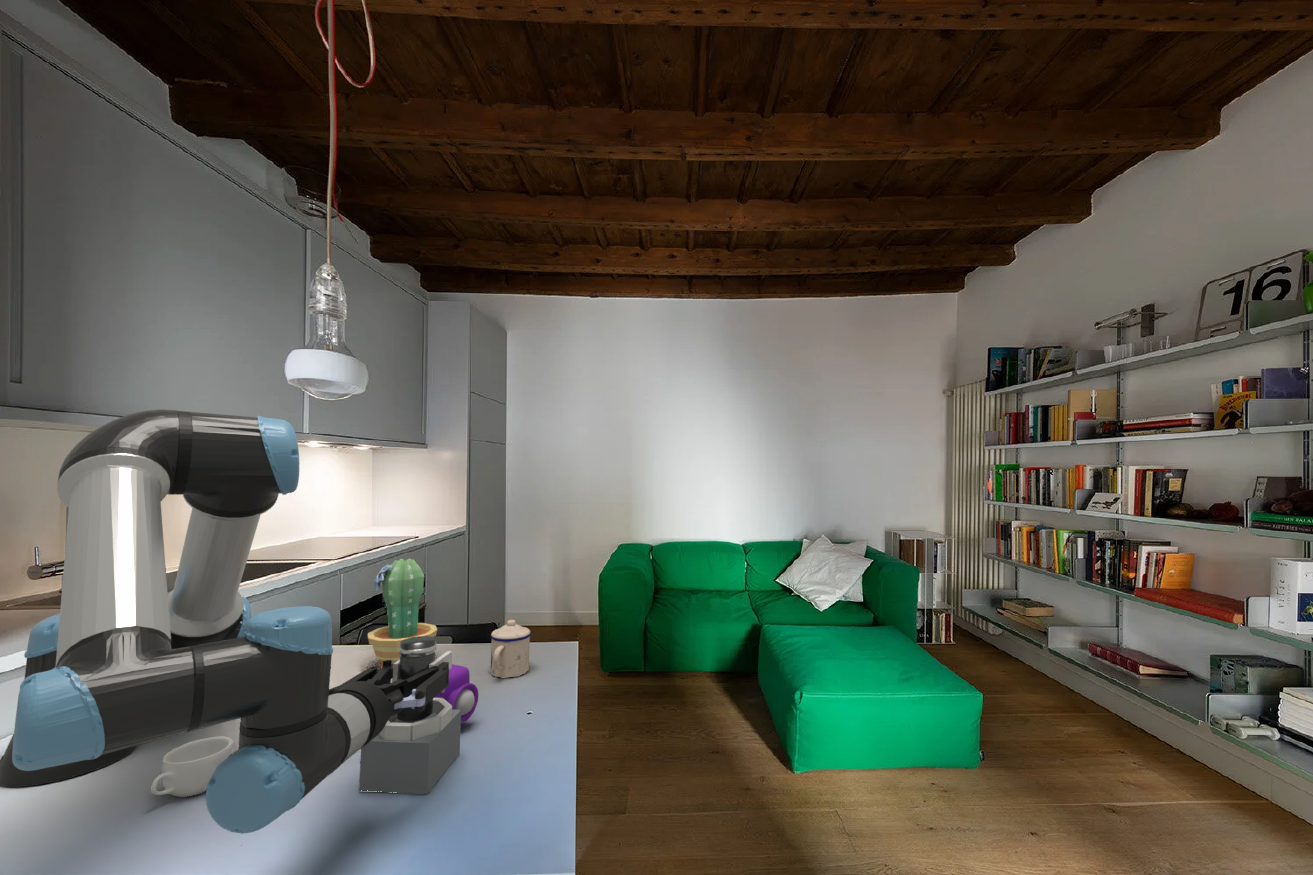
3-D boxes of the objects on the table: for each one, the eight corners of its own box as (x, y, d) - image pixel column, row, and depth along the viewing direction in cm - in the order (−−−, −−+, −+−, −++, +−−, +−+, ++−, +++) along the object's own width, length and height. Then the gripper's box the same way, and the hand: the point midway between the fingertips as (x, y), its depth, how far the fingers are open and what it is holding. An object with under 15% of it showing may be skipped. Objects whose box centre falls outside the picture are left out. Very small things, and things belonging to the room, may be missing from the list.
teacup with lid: (501, 663, 128) (502, 614, 129) (536, 666, 127) (537, 616, 128) (475, 682, 117) (477, 628, 118) (513, 685, 115) (515, 630, 116)
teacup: (200, 771, 81) (203, 734, 81) (244, 775, 80) (246, 738, 80) (125, 811, 71) (129, 769, 71) (174, 817, 70) (177, 774, 70)
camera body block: (358, 791, 76) (362, 726, 76) (399, 752, 87) (402, 695, 87) (427, 794, 75) (430, 728, 76) (459, 754, 86) (461, 697, 87)
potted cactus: (398, 652, 136) (402, 553, 138) (449, 657, 132) (453, 556, 134) (349, 673, 121) (354, 562, 123) (405, 680, 117) (410, 566, 119)
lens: (388, 721, 79) (392, 645, 80) (407, 706, 84) (410, 635, 85) (423, 722, 79) (426, 645, 80) (439, 707, 84) (442, 636, 85)
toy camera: (457, 742, 90) (459, 681, 91) (387, 733, 93) (390, 675, 94) (489, 714, 101) (491, 660, 102) (425, 707, 104) (427, 655, 104)
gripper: (269, 753, 64) (378, 681, 87) (414, 758, 63) (485, 683, 87) (273, 689, 65) (381, 634, 88) (416, 693, 64) (487, 636, 87)
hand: (432, 659), depth 87 cm, fingers closed on lens, 5 cm apart
